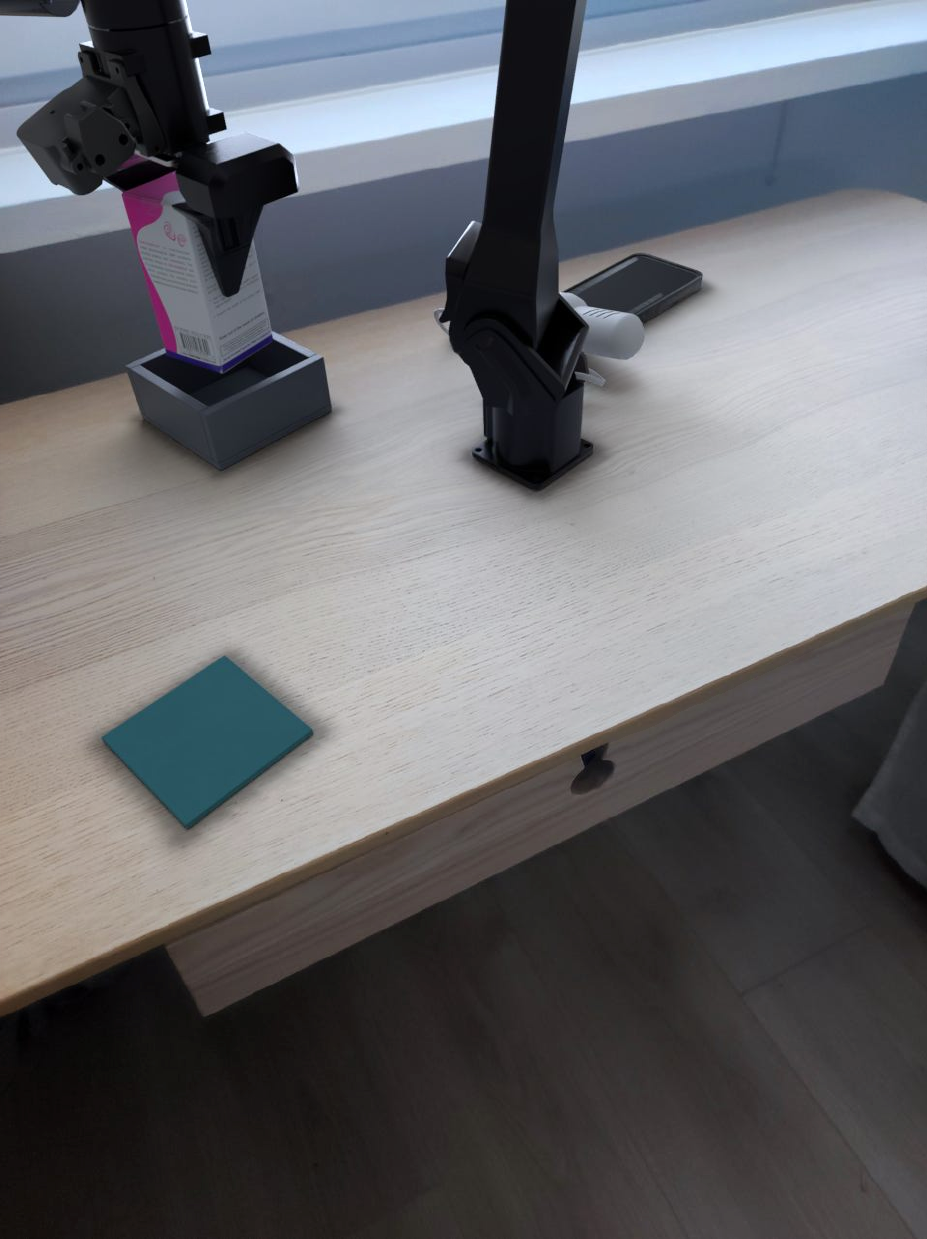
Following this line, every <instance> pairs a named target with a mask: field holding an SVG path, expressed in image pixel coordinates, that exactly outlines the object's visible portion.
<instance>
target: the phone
mask: <svg viewBox="0 0 927 1239" xmlns="http://www.w3.org/2000/svg"><path fill="white" fill-rule="evenodd" d="M703 276H704V274H703V272H702V271H700V270H698V269H694V268H692V267H688V266H686V265H683V264H681V263H680V264H679V263H678V262H677V263H676V262H674V261H671V260H667V259H665V258H662V257H659V256H656V255H653V254H650V253H646V252H635V253H631V254H630V255H628V256H626V257H625V258H622V259H621V260H619V261H617V262H615V263H613V264H612V265H610V266H607V267H606V268H604V269H602V270H600V271H598V272H597V273H595V274H593V275H590V276H589V277H588V278H584V280H581V281H579V282H577V283H576V284H573V285H572V286H570V287H568V288H567V289H564V290H562V292H563V293H571V294H574V295H576V296H577V297H579V298H581V299H582V300H583V301H584V302H585V303H586V305H587V306H588V307H594V308H600V309H606V310H612V311H618V312H624V313H630V314H634V315H636V316H637V317H638V318H639V319H640V320H641V322H642V324H644V323H645V322H647V321H649V320H651V319H652V318H655V317H656V316H657V315H659V314H661V313H662V312H664V311H666V310H667V309H669V308H671V307H673V306H674V305H677V303H679V302H681V301H682V300H684V299H686V298H687V297H689V296H692V294H695V293H696V292H698V291H699V290H701V289H702V288H701V287H702V282H703Z"/></svg>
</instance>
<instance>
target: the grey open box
mask: <svg viewBox="0 0 927 1239" xmlns="http://www.w3.org/2000/svg"><path fill="white" fill-rule="evenodd" d="M272 335H273V340H272V342H270V343H269V344H268V345H266V346H265V347H263V348H261V349H260V350H258V351H257V352H255V353H253V354H252V355H251V356H249V357H247V358H246V359H244V360H243V361H241V362H240V363H238V364H237V365H235V366H234V367H233V368H231V369H229V370H228V371H226V372H224V373H223V374H221V373H218V372H215V371H212V370H209V369H206V368H203V367H200V366H197V365H194V364H191V363H188V362H185V361H182V360H178V359H175V358H172V357H169V356H167V354H166V350H165V347H164V348H162V349H159V350H157V351H155V352H153V353H150V354H148V355H146V356H143V357H141V358H139V359H137V360H134V361H132V362H130V363H127V364H125V365H124V367H125V370H126V373H127V377H128V380H129V382H130V385H131V388H132V391H133V394H134V397H135V400H136V403H137V406H138V410H139V412H140V415H141V419H143V420H144V421H146V422H147V423H149V424H150V425H152V426H153V427H155V428H156V429H158V430H160V431H161V432H162V433H163V434H165V435H167V436H168V437H170V438H171V439H172V440H174V441H176V442H177V443H179V444H180V445H182V446H183V447H185V448H186V449H187V450H188V451H191V452H192V453H194V454H195V455H197V456H198V457H200V458H201V459H202V460H204V461H206V462H207V463H209V464H210V465H211V466H213V467H215V468H216V469H217V470H219V471H223V470H225V469H226V468H229V467H230V466H232V465H234V464H236V463H237V462H240V461H241V460H243V459H245V458H247V457H249V456H251V455H253V454H254V453H256V452H258V451H260V450H261V449H263V448H265V447H267V446H269V445H271V444H273V443H275V442H277V441H278V440H279V439H282V438H284V437H286V436H287V435H289V434H291V433H293V432H295V431H296V430H298V429H300V428H302V427H305V426H306V425H308V424H310V423H311V422H313V421H315V420H316V419H319V418H321V417H322V416H324V415H327V414H329V413H330V412H332V411H333V407H332V400H331V394H330V388H329V382H328V375H327V370H326V363H325V358H324V356H323V355H320V354H318V353H316V352H314V351H312V350H310V349H308V348H306V347H304V346H303V345H301V344H299V343H297V342H295V341H293V340H290V339H289V338H287V337H286V336H285V337H284V336H283V335H281V334H280V333H277V332H275V331H273V330H272Z"/></svg>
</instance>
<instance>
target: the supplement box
mask: <svg viewBox="0 0 927 1239" xmlns="http://www.w3.org/2000/svg"><path fill="white" fill-rule="evenodd" d="M175 172H176V171H174V172H171V173H169V174H167V175H165V176H162V177H160V178H158V179H156V180H153V181H151V182H148V183H146V184H143V185H141V186H138V187H136V188H133V189H131V190H128V191H125V192H121V198H122V202H123V205H124V209H125V212H126V216H127V219H128V223H129V226H130V230H131V233H132V237H133V240H134V243H135V248H136V252H137V254H138V258H139V262H140V266H141V269H142V272H143V275H144V279H145V283H146V286H147V290H148V293H149V297H150V301H151V304H152V308H153V310H154V314H155V317H156V321H157V324H158V329H159V332H160V336H161V340H162V343H163V346H164V348H165V350H166V354H167V356H169V357H172V358H175V359H178V360H182V361H185V362H188V363H191V364H194V365H197V366H200V367H203V368H206V369H209V370H212V371H215V372H218V373H221V374H223V373H224V372H226V371H228V370H229V369H231V368H233V367H234V366H235V365H237V364H238V363H240V362H241V361H243V360H244V359H246V358H247V357H249V356H251V355H252V354H253V353H255V352H257V351H258V350H260V349H261V348H263V347H265V346H266V345H268V344H269V343H270V342H272V340H273V335H272V331H273V330H272V327H271V326H272V325H271V319H270V316H269V315H270V314H269V310H268V305H267V300H266V296H265V290H264V286H263V280H262V276H261V270H260V266H259V261H258V255H257V250H256V246H255V240H254V238H253V240H252V243H251V247H250V251H249V255H248V259H247V262H246V266H245V270H244V274H243V278H242V282H241V286H240V290H239V292H238V293H237V294H235V295H233V296H231V297H225V296H223V294H222V292H221V290H220V288H219V285H218V283H217V280H216V278H215V275H214V273H213V270H212V267H211V264H210V261H209V258H208V256H207V253H206V250H205V247H204V244H203V241H202V239H201V236H200V233H199V230H198V227H197V225H196V224H195V223H194V222H192V221H191V220H189V219H188V218H186V217H185V216H183V215H182V214H180V213H179V212H177V211H176V210H174V209H173V208H172V206H171V205H173V204H176V203H178V202H181V201H184V200H185V199H184V198H183V196H182V194H181V193H180V191H179V187H178V183H177V179H176V175H175Z"/></svg>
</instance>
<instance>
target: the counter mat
mask: <svg viewBox="0 0 927 1239" xmlns="http://www.w3.org/2000/svg"><path fill="white" fill-rule="evenodd" d="M313 734H314V731H313V728H311V726H309V725H308V724H307V723H306V722H304V721H303V719H301V718H300V717H298V716H297V715H296V714H295V713H294V712H293V711H292V710H291V709H289V708H288V707H287V706H286V705H284V704H283V703H282V702H281V701H280V700H278V699H277V697H274V695H272V693H270V692H269V691H267V689H266V688H264V687H263V686H262V685H261V684H259V683H258V682H257V681H256V680H255V679H253V677H251V676H250V675H249V674H247V672H245V671H244V670H243V669H241V667H239V666H238V665H237V664H236V663H234V662H233V661H232V660H231V659H230V658H229V657H228V656H226V655H225V654H224V655H223V656H221V657H219V658H217V660H215V661H213V662H212V663H211V664H209V665H207V666H205V667H204V668H203V669H202V670H199V671H198V672H197V673H195V674H194V675H192V676H191V677H189V678H188V679H186V680H185V681H183V682H182V683H180V684H179V685H177V686H176V687H174V688H173V689H171V690H169V691H168V692H167V693H166V694H163V695H162V696H161V697H159V698H158V699H156V700H154V701H153V702H151V703H150V704H149V705H147V706H145V707H144V708H143V709H141V710H139V711H138V712H137V713H135V714H134V715H132V716H131V717H129V718H128V719H126V720H124V721H123V722H121V723H120V724H119V725H117V726H116V727H114V728H112V729H111V730H109V731H108V732H107V733H105V734H104V735H102V736H101V740H102V742H103V743H104V744H105V745H106V746H107V747H108V748H109V749H110V751H112V752H113V753H114V754H115V755H116V756H117V758H118V759H119V760H120V761H121V762H122V763H123V764H124V766H126V767H127V768H128V770H130V771H131V772H132V773H133V774H134V775H135V777H136V778H137V779H139V781H140V782H141V783H142V784H143V785H144V786H145V787H146V788H147V789H148V791H150V793H152V794H153V796H154V797H156V799H157V800H158V801H159V802H160V803H161V804H162V805H163V806H164V807H165V808H166V809H167V810H168V811H169V812H170V813H171V814H172V815H173V817H175V819H177V821H178V822H179V823H180V824H181V825H182V826H183V827H184V828H185V829H186V830H189V829H190V828H192V826H194V825H195V824H196V823H197V822H199V821H200V820H202V819H203V818H204V817H206V816H207V815H209V814H210V813H211V812H212V811H214V810H215V809H217V807H219V806H220V805H221V804H223V803H224V802H225V801H227V800H228V799H230V798H231V797H232V796H233V795H234V794H237V792H239V791H240V790H241V789H243V788H244V787H245V786H247V785H248V784H249V783H251V782H252V781H253V780H255V779H256V778H257V777H259V775H261V774H262V773H264V772H265V771H266V770H267V769H269V768H270V767H272V766H273V765H274V764H276V763H277V762H278V761H279V760H281V759H282V758H283V757H285V756H286V755H287V754H289V753H290V752H291V751H293V750H294V749H296V748H297V747H298V746H300V745H301V744H302V743H303V742H304V741H306V740H307V739H309V738H310V737H311V736H312V735H313Z"/></svg>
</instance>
